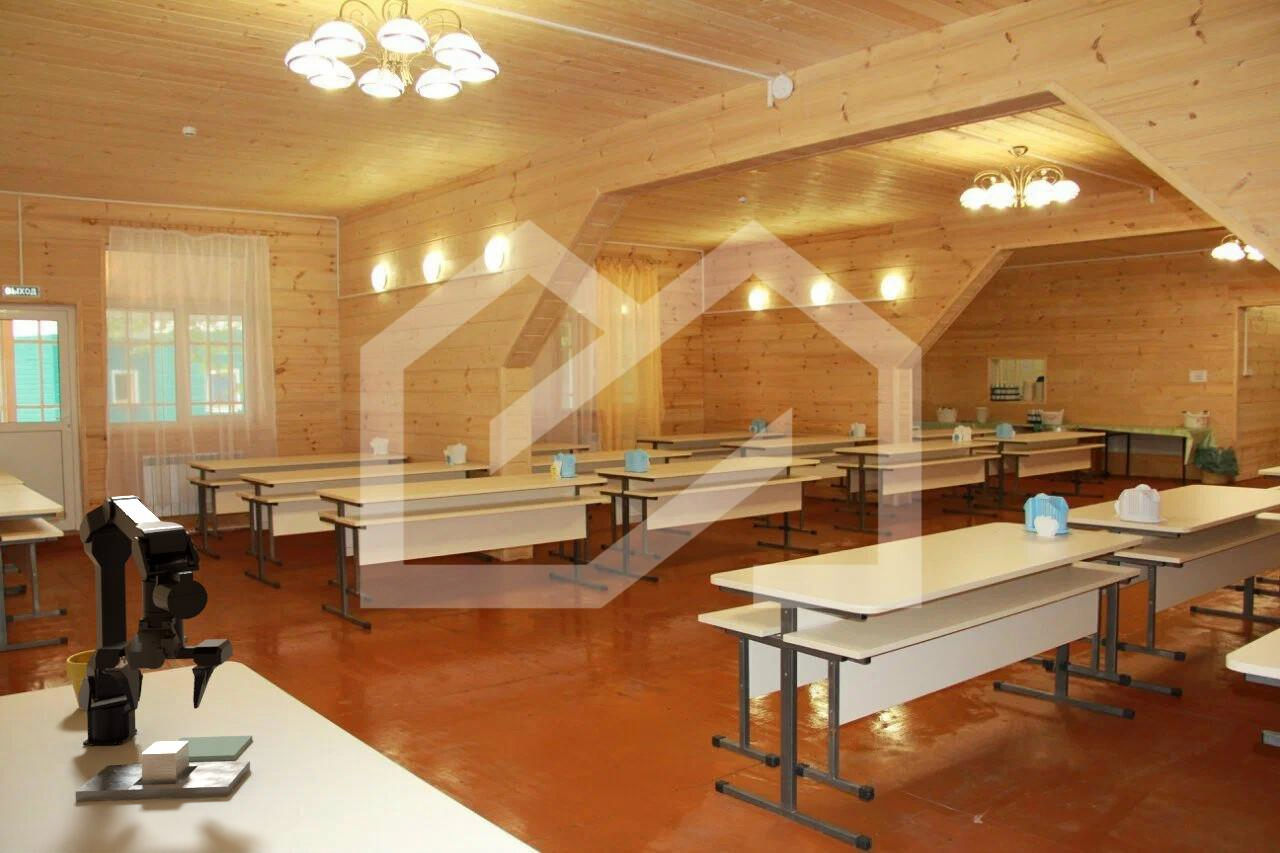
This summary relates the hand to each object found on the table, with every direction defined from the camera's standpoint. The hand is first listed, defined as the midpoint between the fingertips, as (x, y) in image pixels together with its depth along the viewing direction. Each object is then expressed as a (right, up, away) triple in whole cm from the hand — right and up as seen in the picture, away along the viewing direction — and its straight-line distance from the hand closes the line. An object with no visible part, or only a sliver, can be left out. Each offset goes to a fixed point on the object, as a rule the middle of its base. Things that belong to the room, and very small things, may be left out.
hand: (165, 708), depth 148 cm
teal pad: (0, -11, +14) cm, 18 cm away
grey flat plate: (0, -12, 0) cm, 12 cm away
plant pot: (-32, -11, +38) cm, 51 cm away
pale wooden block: (0, -12, 0) cm, 12 cm away
